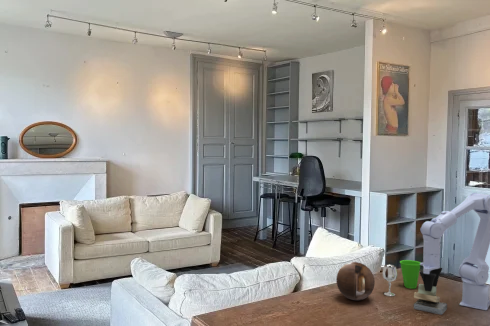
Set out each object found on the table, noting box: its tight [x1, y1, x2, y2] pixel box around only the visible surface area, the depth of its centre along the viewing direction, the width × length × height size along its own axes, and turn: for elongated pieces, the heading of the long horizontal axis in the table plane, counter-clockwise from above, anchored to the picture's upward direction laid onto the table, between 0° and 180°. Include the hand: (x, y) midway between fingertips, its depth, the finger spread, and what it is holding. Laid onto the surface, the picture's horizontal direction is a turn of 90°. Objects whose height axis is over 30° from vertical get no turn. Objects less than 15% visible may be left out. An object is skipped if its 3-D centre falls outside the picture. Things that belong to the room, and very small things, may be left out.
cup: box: [399, 259, 422, 290], centre depth 190 cm, size 9×9×11 cm
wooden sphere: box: [335, 261, 375, 301], centre depth 174 cm, size 15×15×15 cm
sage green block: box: [413, 283, 441, 302], centre depth 167 cm, size 8×6×6 cm
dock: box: [413, 298, 448, 316], centre depth 164 cm, size 10×8×2 cm
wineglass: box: [382, 264, 398, 297], centre depth 180 cm, size 6×6×12 cm
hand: (430, 288), depth 164 cm, fingers open, 7 cm apart
